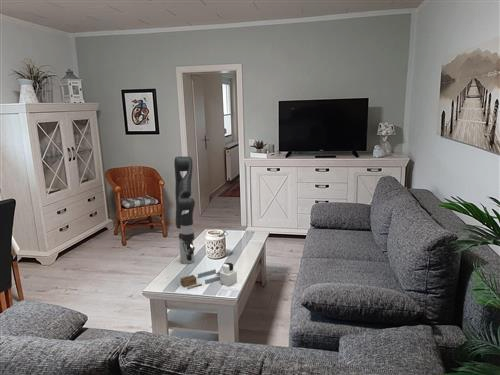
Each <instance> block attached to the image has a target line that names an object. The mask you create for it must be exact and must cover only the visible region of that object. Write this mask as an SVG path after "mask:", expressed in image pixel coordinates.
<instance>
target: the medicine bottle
mask: <svg viewBox="0 0 500 375" xmlns="http://www.w3.org/2000/svg"><path fill="white" fill-rule="evenodd" d="M219 272H220V280H219V281H220V284H221V285H225V286H227V287H231V286H232V285H234V284H236V283H238V279H237V278H238V276H237V275H238V274H237V270H234V264H233V263H232V262H225V263H223V264H222V271H219Z"/></svg>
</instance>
